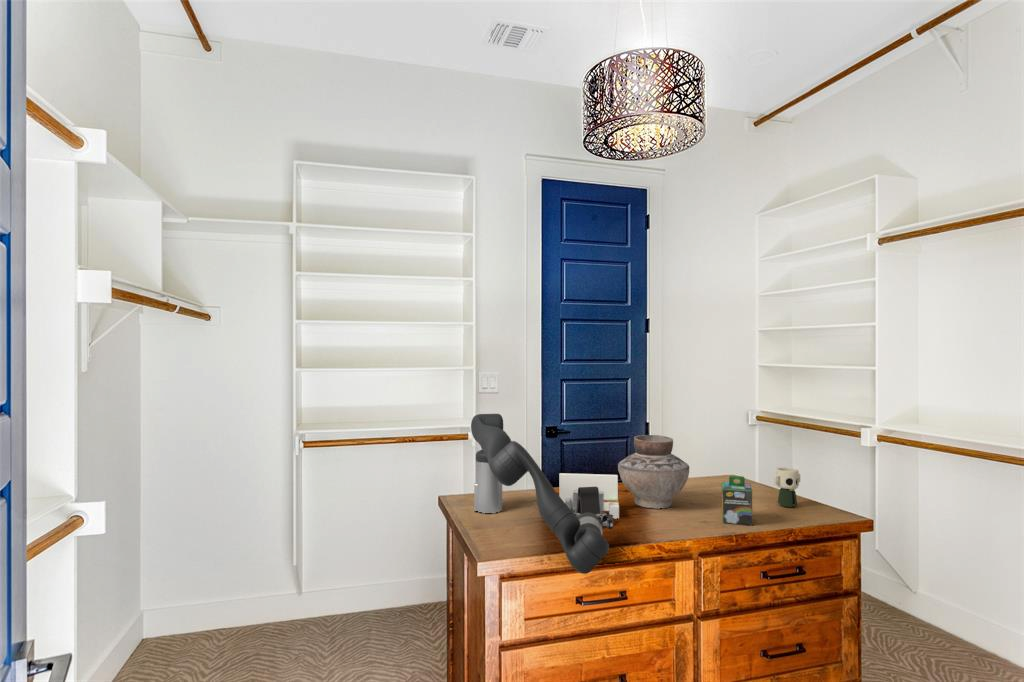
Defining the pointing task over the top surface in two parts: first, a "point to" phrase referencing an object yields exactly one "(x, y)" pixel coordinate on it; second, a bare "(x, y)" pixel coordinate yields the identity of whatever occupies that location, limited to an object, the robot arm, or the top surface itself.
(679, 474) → the ceramic pot
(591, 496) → the phone stand
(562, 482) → the panel and block assembly
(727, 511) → the chalk box
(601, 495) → the block and dowel assembly
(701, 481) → the top surface
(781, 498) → the character mug
